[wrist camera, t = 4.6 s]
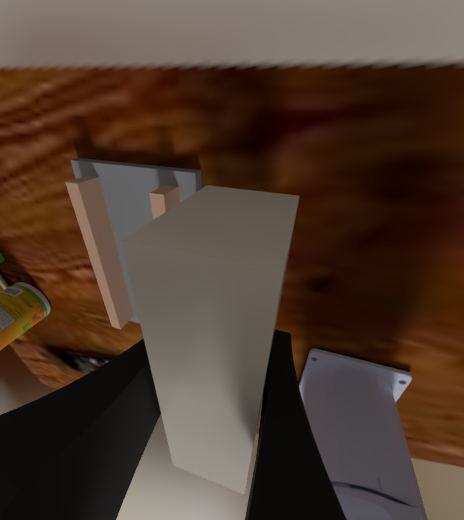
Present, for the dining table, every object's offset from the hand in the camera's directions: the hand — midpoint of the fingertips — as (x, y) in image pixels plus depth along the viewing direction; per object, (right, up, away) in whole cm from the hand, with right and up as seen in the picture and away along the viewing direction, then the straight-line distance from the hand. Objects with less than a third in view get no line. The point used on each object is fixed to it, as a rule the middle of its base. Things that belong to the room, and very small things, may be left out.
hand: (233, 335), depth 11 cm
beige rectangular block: (0, +1, +1) cm, 2 cm away
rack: (-7, +4, +11) cm, 14 cm away
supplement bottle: (-26, -1, +21) cm, 33 cm away
